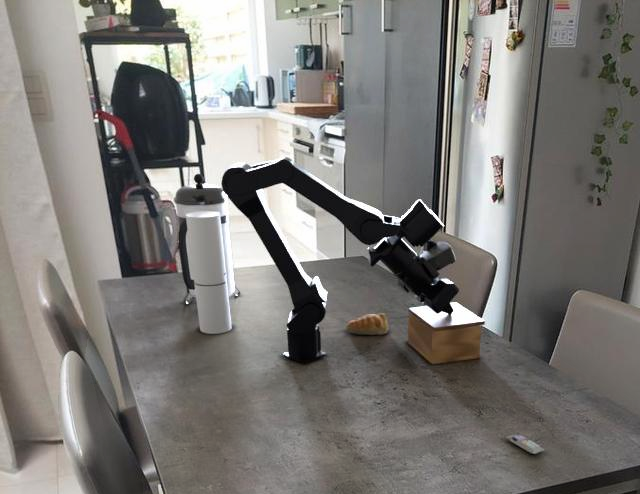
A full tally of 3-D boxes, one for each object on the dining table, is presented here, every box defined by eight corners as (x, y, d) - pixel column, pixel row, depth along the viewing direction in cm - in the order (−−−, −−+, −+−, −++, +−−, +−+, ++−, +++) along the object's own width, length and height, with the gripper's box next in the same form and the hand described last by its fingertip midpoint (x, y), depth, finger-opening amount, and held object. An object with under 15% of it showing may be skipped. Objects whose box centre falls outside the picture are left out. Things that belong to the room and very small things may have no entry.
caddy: (451, 337, 155) (453, 307, 152) (479, 358, 144) (481, 326, 141) (407, 342, 152) (408, 311, 149) (432, 364, 141) (433, 331, 138)
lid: (455, 305, 152) (456, 302, 151) (484, 324, 141) (485, 320, 140) (408, 311, 149) (408, 308, 148) (434, 331, 138) (434, 327, 137)
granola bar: (544, 453, 109) (545, 447, 108) (533, 457, 108) (534, 451, 107) (515, 436, 114) (516, 430, 113) (505, 439, 113) (505, 434, 112)
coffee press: (173, 295, 182) (155, 172, 167) (232, 288, 188) (220, 168, 173) (188, 314, 169) (170, 181, 153) (251, 306, 175) (240, 177, 159)
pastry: (349, 337, 155) (349, 320, 153) (343, 328, 161) (343, 311, 159) (390, 334, 157) (390, 317, 155) (382, 325, 162) (383, 309, 160)
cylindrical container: (235, 324, 163) (223, 211, 150) (226, 334, 157) (214, 217, 144) (205, 323, 163) (191, 210, 150) (196, 333, 157) (181, 217, 144)
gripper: (452, 240, 127) (500, 294, 136) (413, 221, 142) (458, 271, 151) (411, 287, 129) (461, 337, 137) (377, 263, 144) (423, 310, 153)
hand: (451, 312), depth 144 cm, fingers closed, pressing on lid
